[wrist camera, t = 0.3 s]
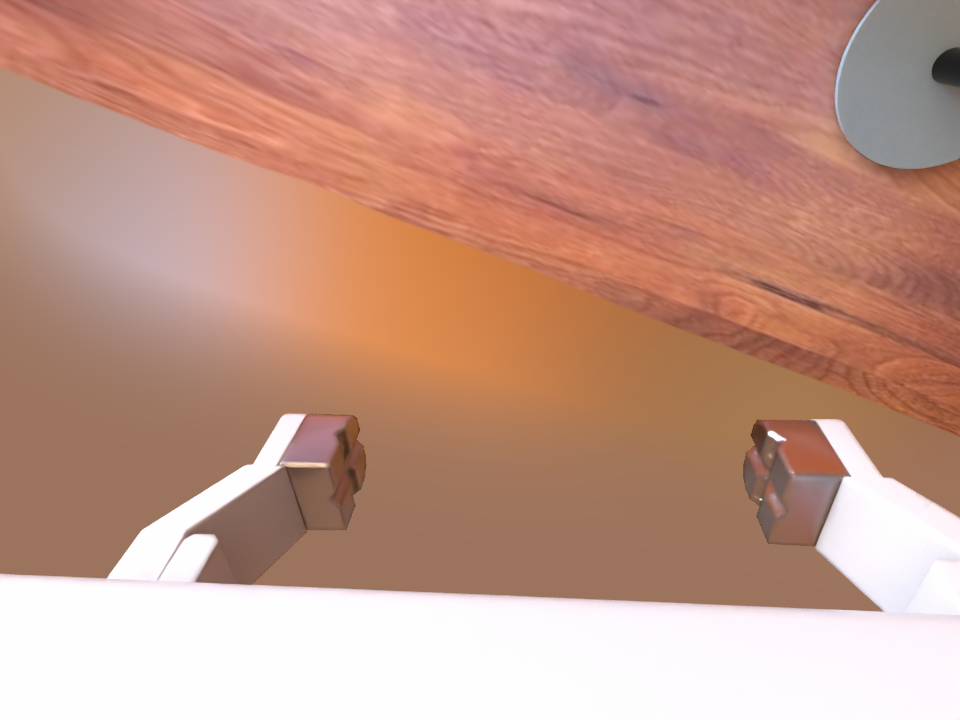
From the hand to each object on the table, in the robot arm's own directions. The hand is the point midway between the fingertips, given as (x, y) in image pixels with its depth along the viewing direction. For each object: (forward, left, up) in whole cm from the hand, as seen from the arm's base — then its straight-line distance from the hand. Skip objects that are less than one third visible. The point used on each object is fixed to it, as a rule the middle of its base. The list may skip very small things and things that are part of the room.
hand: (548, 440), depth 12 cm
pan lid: (0, +33, -47) cm, 57 cm away
